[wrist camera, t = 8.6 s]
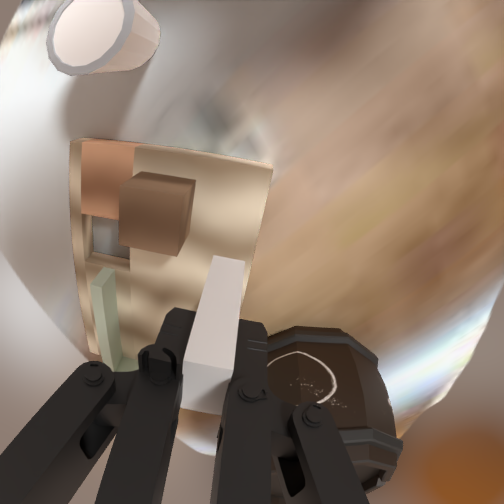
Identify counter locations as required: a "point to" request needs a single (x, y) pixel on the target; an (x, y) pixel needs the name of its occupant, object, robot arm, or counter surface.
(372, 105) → the counter surface
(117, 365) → the cubby
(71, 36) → the shot glass
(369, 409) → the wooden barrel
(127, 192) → the block
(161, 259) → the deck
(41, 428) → the robot arm
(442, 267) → the counter surface
